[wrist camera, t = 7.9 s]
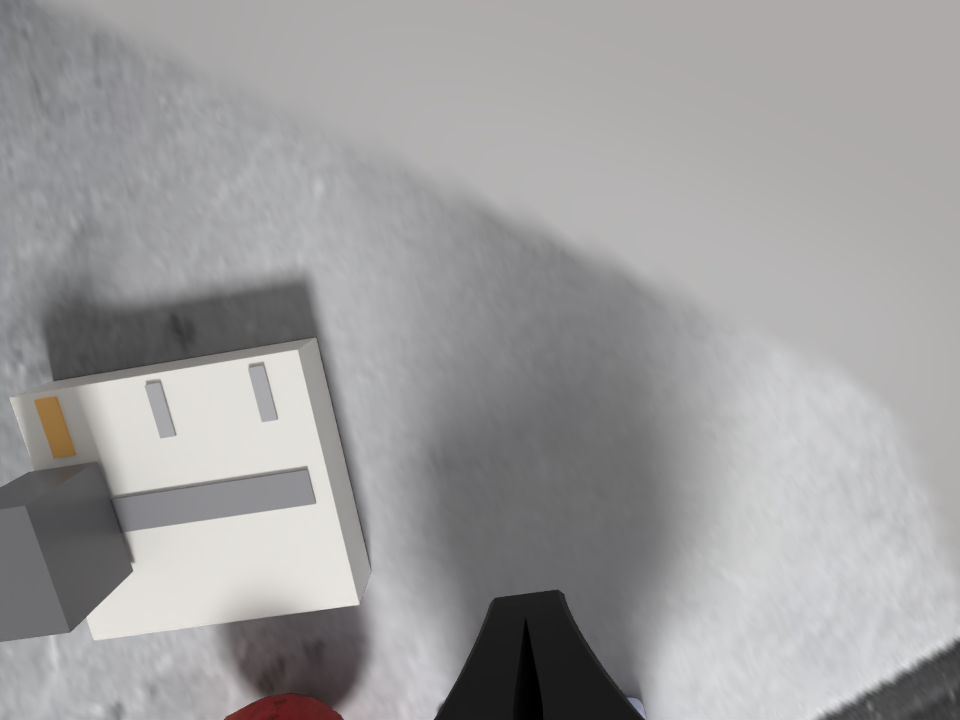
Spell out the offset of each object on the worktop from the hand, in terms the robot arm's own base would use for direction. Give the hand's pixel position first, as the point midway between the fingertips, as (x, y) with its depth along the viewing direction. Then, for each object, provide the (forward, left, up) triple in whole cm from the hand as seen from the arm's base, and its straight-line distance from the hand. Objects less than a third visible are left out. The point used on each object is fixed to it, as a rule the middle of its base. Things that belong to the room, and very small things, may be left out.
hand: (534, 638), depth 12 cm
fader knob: (0, +15, -8) cm, 17 cm away
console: (0, +11, -10) cm, 15 cm away
